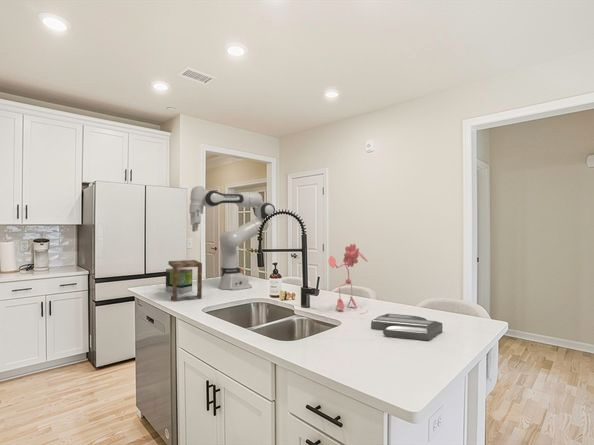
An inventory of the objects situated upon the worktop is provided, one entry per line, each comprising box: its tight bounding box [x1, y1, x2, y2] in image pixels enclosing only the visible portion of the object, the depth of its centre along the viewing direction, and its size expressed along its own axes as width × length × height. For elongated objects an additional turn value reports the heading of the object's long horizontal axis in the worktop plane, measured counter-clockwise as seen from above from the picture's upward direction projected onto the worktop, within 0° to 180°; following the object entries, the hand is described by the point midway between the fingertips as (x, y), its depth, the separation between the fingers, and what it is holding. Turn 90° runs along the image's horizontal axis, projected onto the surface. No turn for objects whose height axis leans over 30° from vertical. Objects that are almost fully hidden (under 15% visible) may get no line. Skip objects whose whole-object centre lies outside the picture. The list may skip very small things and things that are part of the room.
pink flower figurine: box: [327, 243, 369, 315], centre depth 172 cm, size 15×26×35 cm, turn 130°
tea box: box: [165, 267, 193, 294], centre depth 218 cm, size 15×10×15 cm, turn 58°
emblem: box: [370, 313, 443, 341], centre depth 142 cm, size 28×5×28 cm
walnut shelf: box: [167, 259, 203, 303], centre depth 201 cm, size 16×20×21 cm
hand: (194, 231), depth 219 cm, fingers open, 8 cm apart
